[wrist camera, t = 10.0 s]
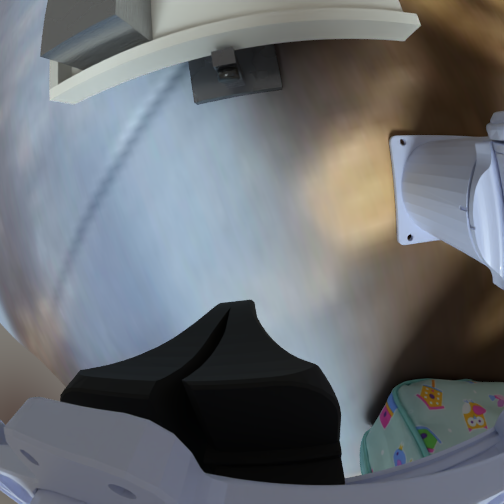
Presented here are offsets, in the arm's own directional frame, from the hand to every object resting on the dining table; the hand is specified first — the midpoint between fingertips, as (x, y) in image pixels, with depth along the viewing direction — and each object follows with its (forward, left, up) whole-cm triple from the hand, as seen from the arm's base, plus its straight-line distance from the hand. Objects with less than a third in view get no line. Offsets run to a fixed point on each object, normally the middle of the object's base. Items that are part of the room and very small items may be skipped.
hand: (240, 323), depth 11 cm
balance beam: (0, -17, -6) cm, 18 cm away
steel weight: (+6, -17, -6) cm, 19 cm away
